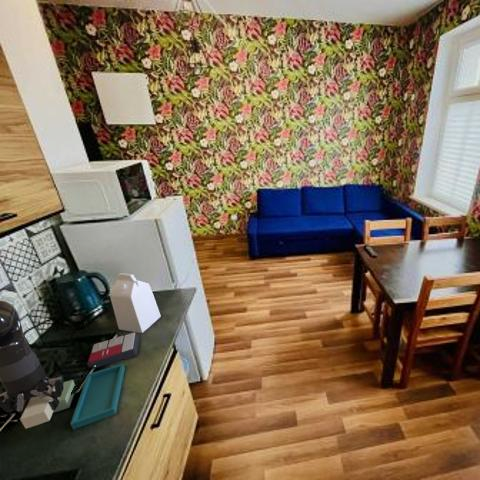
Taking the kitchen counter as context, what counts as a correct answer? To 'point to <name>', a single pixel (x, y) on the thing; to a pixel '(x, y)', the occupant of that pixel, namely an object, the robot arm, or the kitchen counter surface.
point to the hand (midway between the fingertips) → (42, 411)
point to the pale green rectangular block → (65, 396)
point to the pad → (36, 412)
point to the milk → (133, 304)
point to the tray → (99, 396)
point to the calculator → (114, 350)
